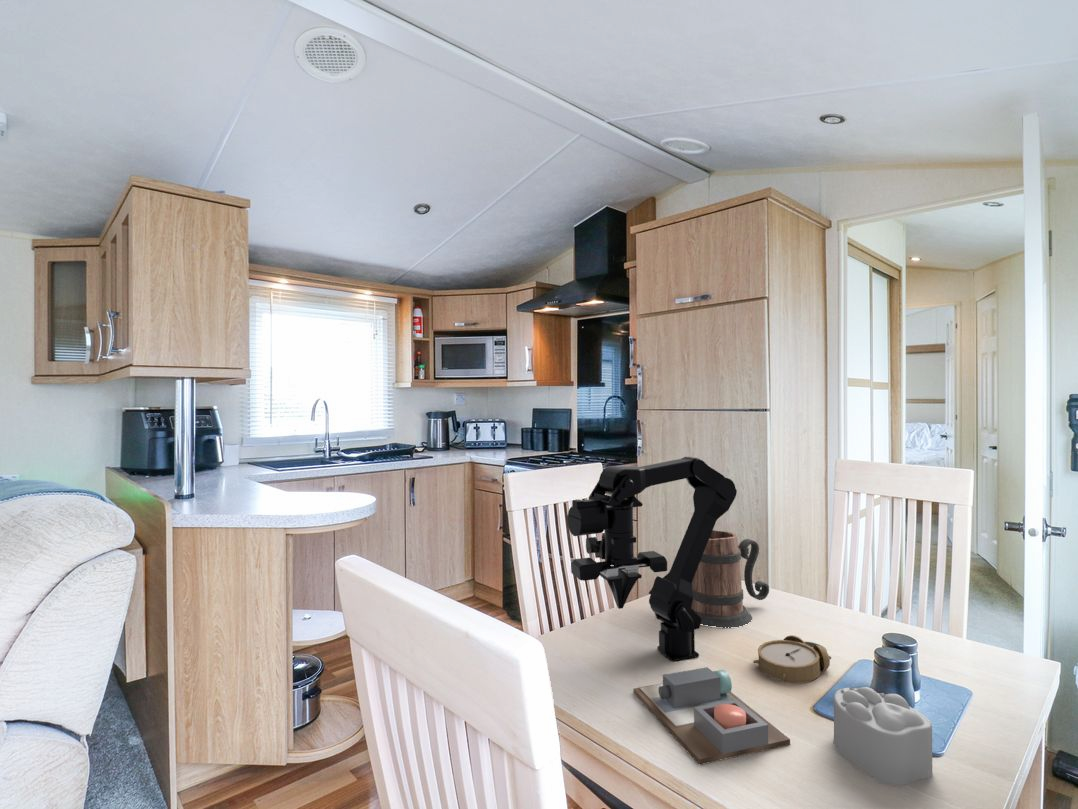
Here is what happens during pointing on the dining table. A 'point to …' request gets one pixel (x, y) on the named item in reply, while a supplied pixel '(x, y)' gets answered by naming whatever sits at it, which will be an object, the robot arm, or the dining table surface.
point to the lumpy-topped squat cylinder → (882, 736)
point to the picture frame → (689, 735)
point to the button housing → (731, 729)
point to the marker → (694, 687)
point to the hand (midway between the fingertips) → (619, 607)
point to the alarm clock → (792, 659)
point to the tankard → (725, 581)
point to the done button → (729, 716)
